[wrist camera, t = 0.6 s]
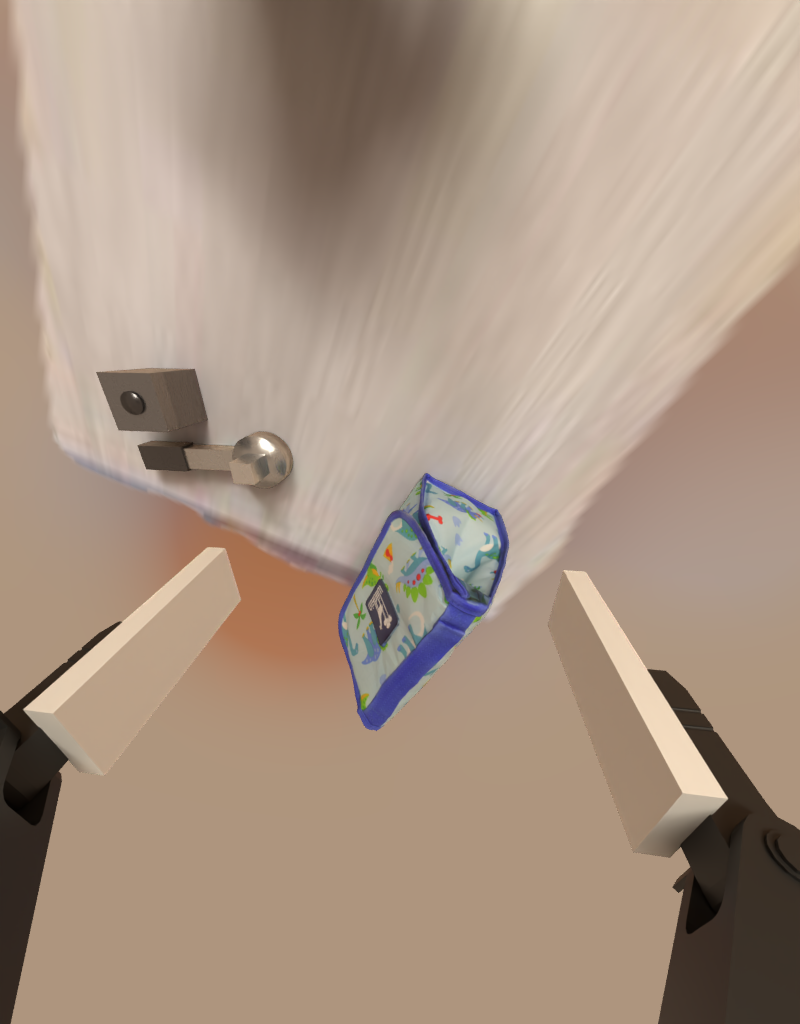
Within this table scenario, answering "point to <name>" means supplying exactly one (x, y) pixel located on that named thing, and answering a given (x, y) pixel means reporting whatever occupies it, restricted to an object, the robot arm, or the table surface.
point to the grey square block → (153, 398)
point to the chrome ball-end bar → (225, 458)
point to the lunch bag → (419, 595)
